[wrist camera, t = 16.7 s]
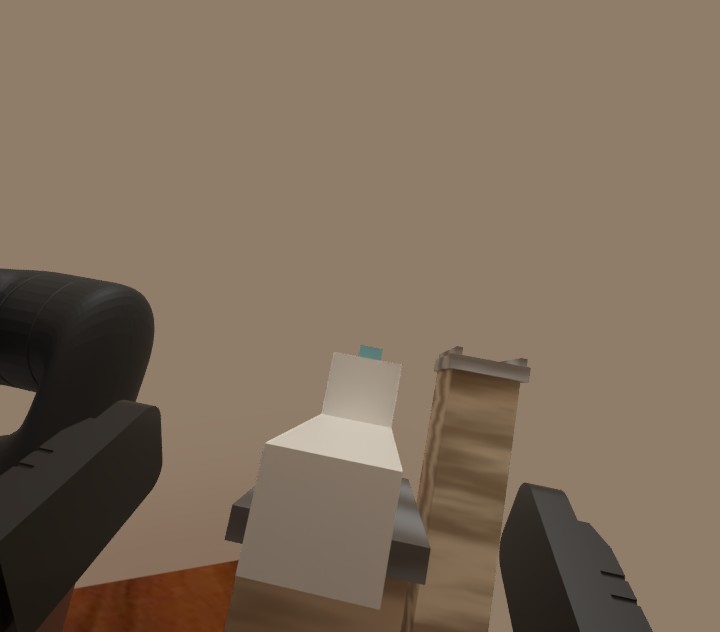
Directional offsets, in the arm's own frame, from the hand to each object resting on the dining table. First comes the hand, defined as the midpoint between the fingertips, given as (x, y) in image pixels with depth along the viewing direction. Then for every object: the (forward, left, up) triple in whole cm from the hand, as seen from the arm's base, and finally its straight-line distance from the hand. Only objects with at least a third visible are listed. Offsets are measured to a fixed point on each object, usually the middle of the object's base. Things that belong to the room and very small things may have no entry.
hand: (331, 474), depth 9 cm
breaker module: (-8, +12, -4) cm, 15 cm away
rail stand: (-9, +40, -27) cm, 49 cm away
